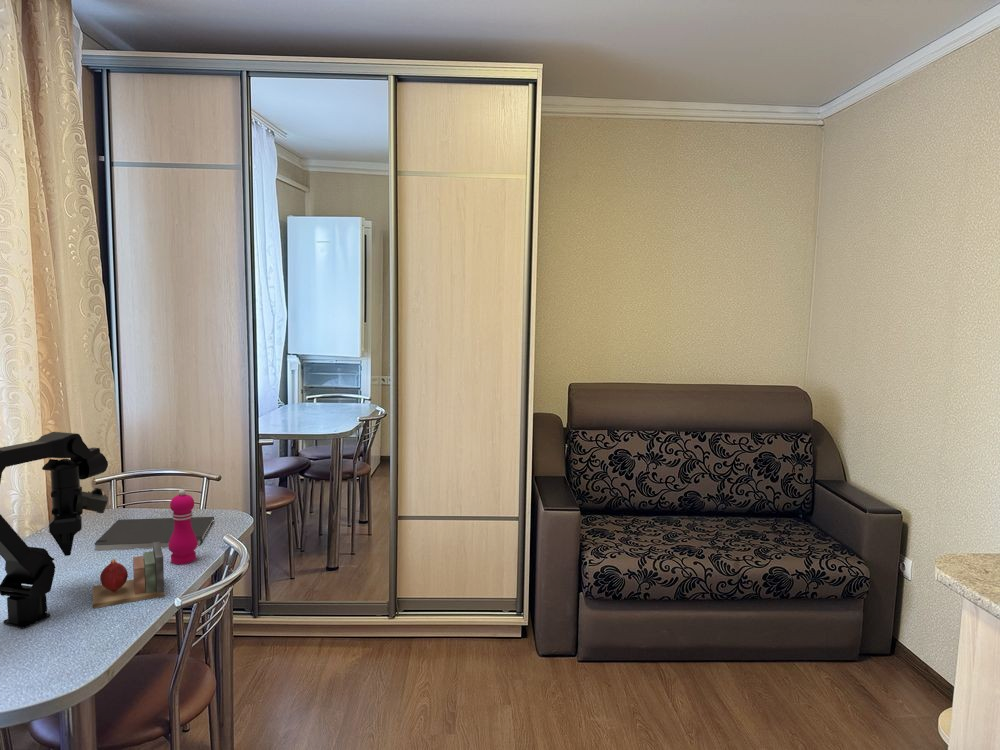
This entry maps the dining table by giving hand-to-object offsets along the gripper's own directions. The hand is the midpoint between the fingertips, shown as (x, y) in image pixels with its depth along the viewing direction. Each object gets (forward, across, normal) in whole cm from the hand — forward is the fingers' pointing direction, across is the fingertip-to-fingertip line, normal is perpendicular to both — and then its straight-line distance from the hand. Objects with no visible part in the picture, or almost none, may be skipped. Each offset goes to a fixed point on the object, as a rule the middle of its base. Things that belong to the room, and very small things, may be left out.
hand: (68, 548), depth 164 cm
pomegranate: (+11, -4, -9) cm, 15 cm away
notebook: (+13, +36, -21) cm, 44 cm away
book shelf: (+12, -4, -12) cm, 17 cm away
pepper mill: (+12, +13, -26) cm, 31 cm away
